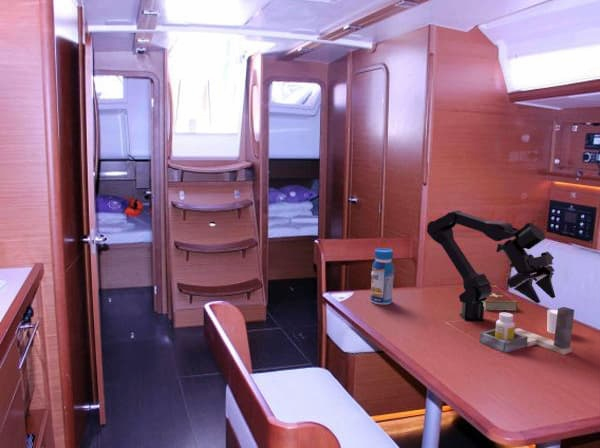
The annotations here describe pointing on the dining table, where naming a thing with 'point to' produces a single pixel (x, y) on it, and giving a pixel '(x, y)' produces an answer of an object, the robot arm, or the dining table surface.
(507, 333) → the supplement bottle
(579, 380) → the dining table surface
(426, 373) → the dining table surface
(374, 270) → the beverage bottle
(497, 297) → the hardcover book
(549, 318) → the shot glass
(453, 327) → the dining table surface
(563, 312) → the tray with upright post
